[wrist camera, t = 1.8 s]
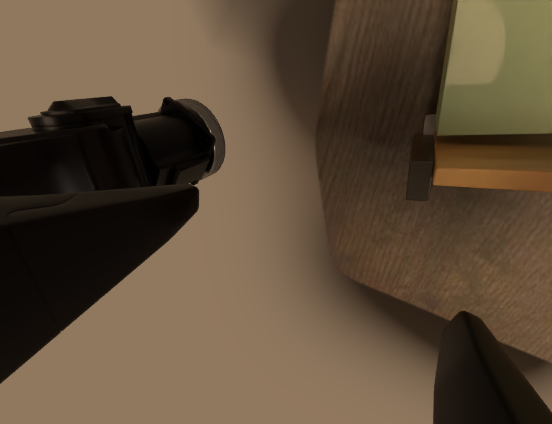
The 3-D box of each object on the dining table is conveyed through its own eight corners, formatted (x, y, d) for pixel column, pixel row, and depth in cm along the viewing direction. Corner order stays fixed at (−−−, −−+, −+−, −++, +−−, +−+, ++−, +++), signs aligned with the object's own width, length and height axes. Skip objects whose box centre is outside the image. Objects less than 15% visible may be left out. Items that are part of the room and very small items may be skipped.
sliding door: (412, 161, 18) (403, 208, 12) (416, 131, 17) (408, 166, 11) (599, 165, 14) (732, 241, 8) (615, 126, 13) (780, 178, 7)
